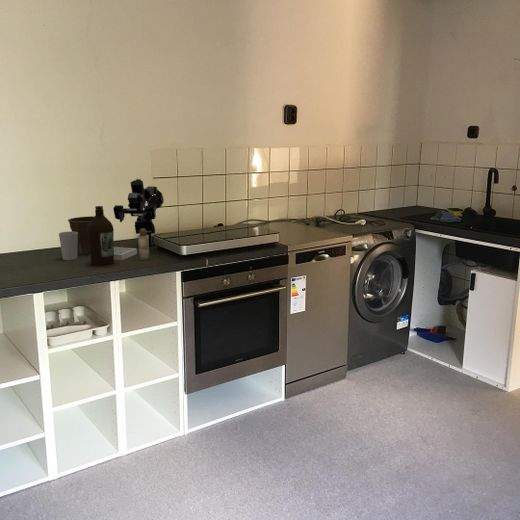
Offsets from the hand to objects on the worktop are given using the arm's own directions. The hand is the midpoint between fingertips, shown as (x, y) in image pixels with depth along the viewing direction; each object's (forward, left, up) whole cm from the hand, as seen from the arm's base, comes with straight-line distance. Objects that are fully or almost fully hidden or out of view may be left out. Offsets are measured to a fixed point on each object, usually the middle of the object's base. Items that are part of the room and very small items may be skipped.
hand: (130, 221), depth 261 cm
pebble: (+7, -3, -15) cm, 17 cm away
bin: (+3, -5, -16) cm, 17 cm away
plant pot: (-2, -23, -16) cm, 28 cm away
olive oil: (+18, -4, -16) cm, 25 cm away
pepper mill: (+5, +9, -16) cm, 19 cm away
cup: (+13, -23, -16) cm, 31 cm away
